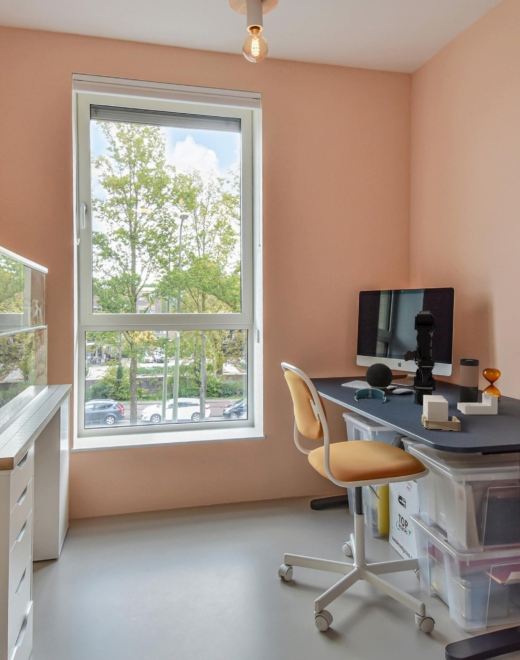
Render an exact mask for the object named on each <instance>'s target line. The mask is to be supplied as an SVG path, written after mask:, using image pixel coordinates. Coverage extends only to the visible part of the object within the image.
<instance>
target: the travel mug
mask: <svg viewBox="0 0 520 660" xmlns="http://www.w3.org/2000/svg"><path fill="white" fill-rule="evenodd" d="M459 360H460V361H459V383H458V384H459V386H458V387H459V403H479V401H478V399H479V383H480V382H479V380H480V378H479V377H480V374H479V373H480V372H479V371H480V366H479V365H480V361H479V359H476V358H460V359H459Z"/></svg>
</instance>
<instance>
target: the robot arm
mask: <svg viewBox="0 0 520 660" xmlns="http://www.w3.org/2000/svg"><path fill="white" fill-rule="evenodd" d="M436 324H437V318H436V316H435V315H434V313H432V311H431V310H420V311H419V312H418V313H416V315H415V316H414V327H413V328H414V331H416V336H415V337H416V338H415V339H416V346H415V348H414V349H412V350H410V349H409V350H406V351H405V352H402V354H401V355H402V357H403V359H404V362H409V361H410V360H413V361H414V364H415V365H416V366H417V367H418V368H416V370H415V376H414V375H413V390H414V391H415V392H414V401H413V403H415V404H417V405H420V406H423V395H433V392H435V391H436V387H437V385H436V384H437V383H436V382H437V381H436V379H435V377H434V376H433V369H434V368H435V361H434V359H433V356H432V350H433V346H432V339H433V338H432V337H433V336H434V331H435V329H437V325H436Z"/></svg>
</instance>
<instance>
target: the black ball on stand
mask: <svg viewBox="0 0 520 660" xmlns="http://www.w3.org/2000/svg"><path fill="white" fill-rule="evenodd" d="M393 375H394V374H393V371H392V370H391V368H390V367H389V366H388V365H386V364H384V363H380V362H379V363H378V362H376V363H373V364H372V365H370V366H369V367H368V368H367V370H366V372H365V380H366V382H367V384H368V385H369V386H370V388H375V389H379V390H381V391H383V392H385V394H389V395H391V390H390V389H389V388H388V387H389V386H391V384H392V382H393V379H394V377H393Z"/></svg>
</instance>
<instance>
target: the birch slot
mask: <svg viewBox="0 0 520 660" xmlns="http://www.w3.org/2000/svg"><path fill="white" fill-rule="evenodd" d="M461 423H462V422H461V421H460V420H459V419H458V418H457V416H455V415H452V416H451V421H450V420H448V421H434V420H428V419H427V418H426V416H425V415H423V414H421V424H422V426H423V425H424V426H423V427H425V428H427V429H426V430H430V429H442V430H441V431H449V430H453V431H452V432H461V429H462V427H461V425H462V424H461ZM425 428H424V429H425Z"/></svg>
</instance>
